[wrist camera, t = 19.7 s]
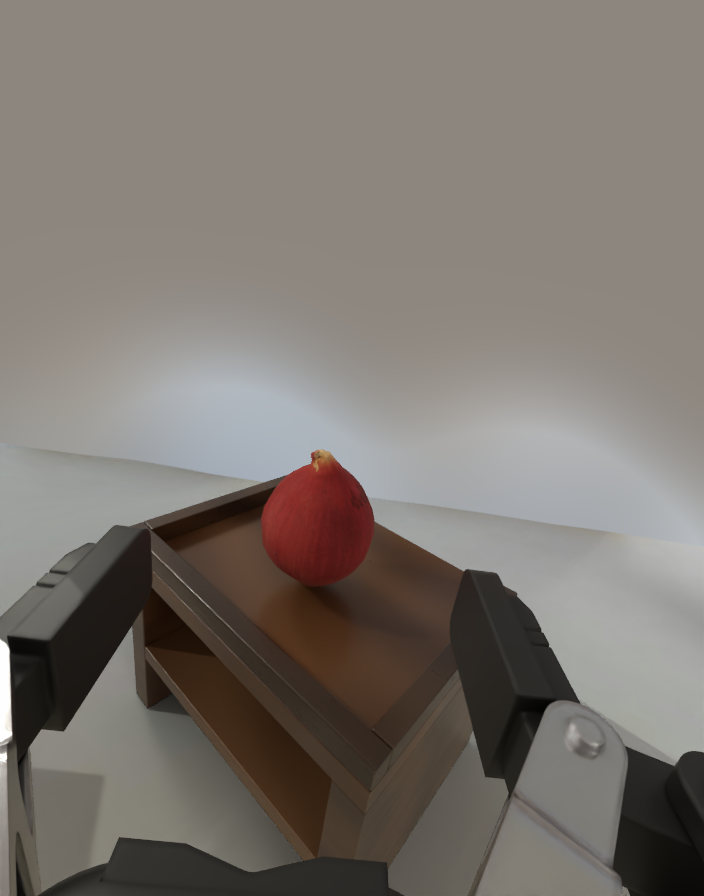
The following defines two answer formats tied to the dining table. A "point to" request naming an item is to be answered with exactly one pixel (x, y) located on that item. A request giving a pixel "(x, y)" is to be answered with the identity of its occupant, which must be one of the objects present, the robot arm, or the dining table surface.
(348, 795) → the shelf stand
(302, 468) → the onion
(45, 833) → the dining table surface
